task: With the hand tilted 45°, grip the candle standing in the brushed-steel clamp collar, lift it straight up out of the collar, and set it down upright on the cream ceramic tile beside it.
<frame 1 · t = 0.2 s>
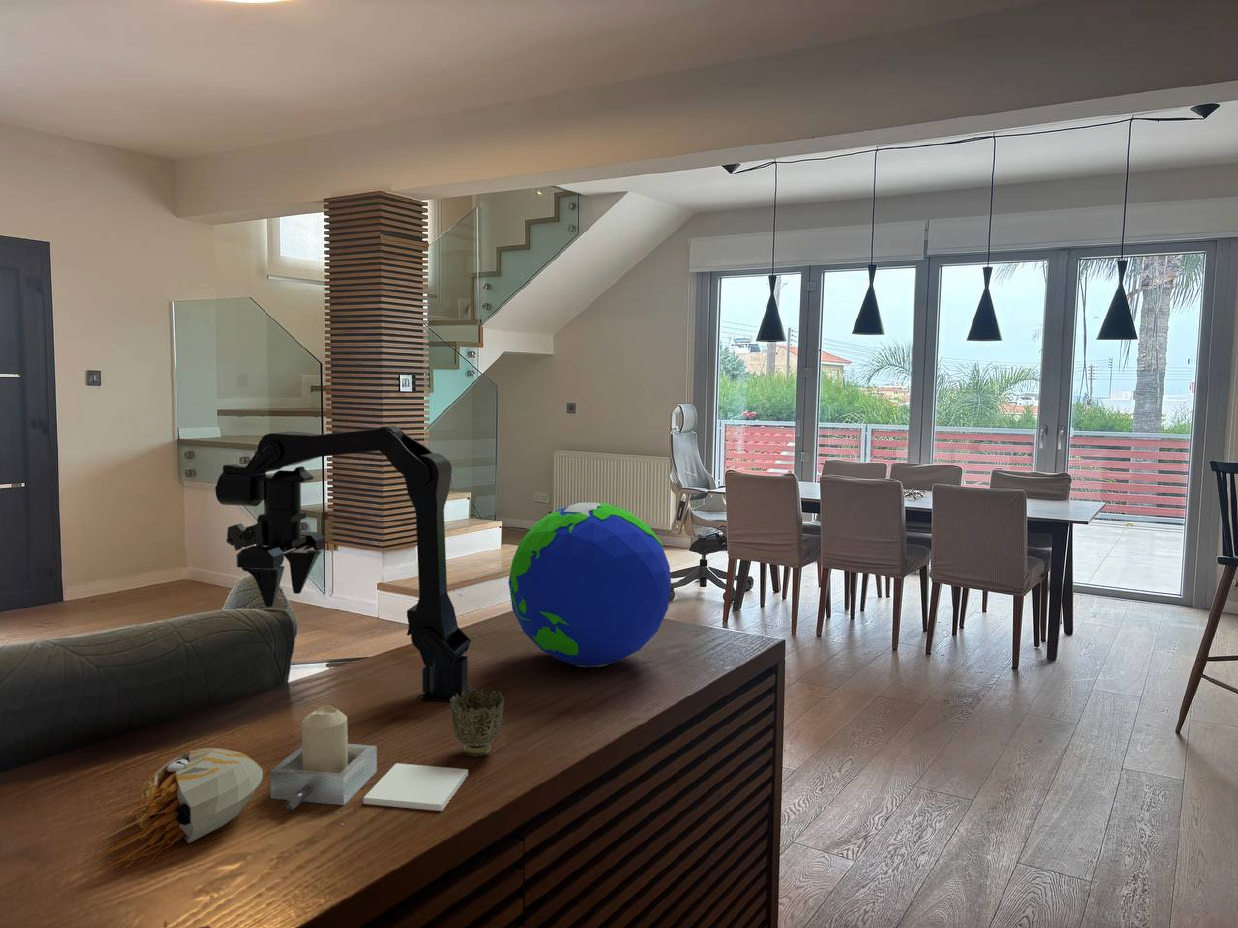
hand: (283, 599, 150), 15 cm above the sideboard, fingers open, 9 cm apart
globe: (589, 664, 165), on the sideboard
clamp collar: (325, 784, 115), on the sideboard
nautilus: (176, 833, 103), on the sideboard
candle: (325, 785, 115), resting in clamp collar
cup: (477, 754, 125), on the sideboard
tile: (417, 788, 114), on the sideboard
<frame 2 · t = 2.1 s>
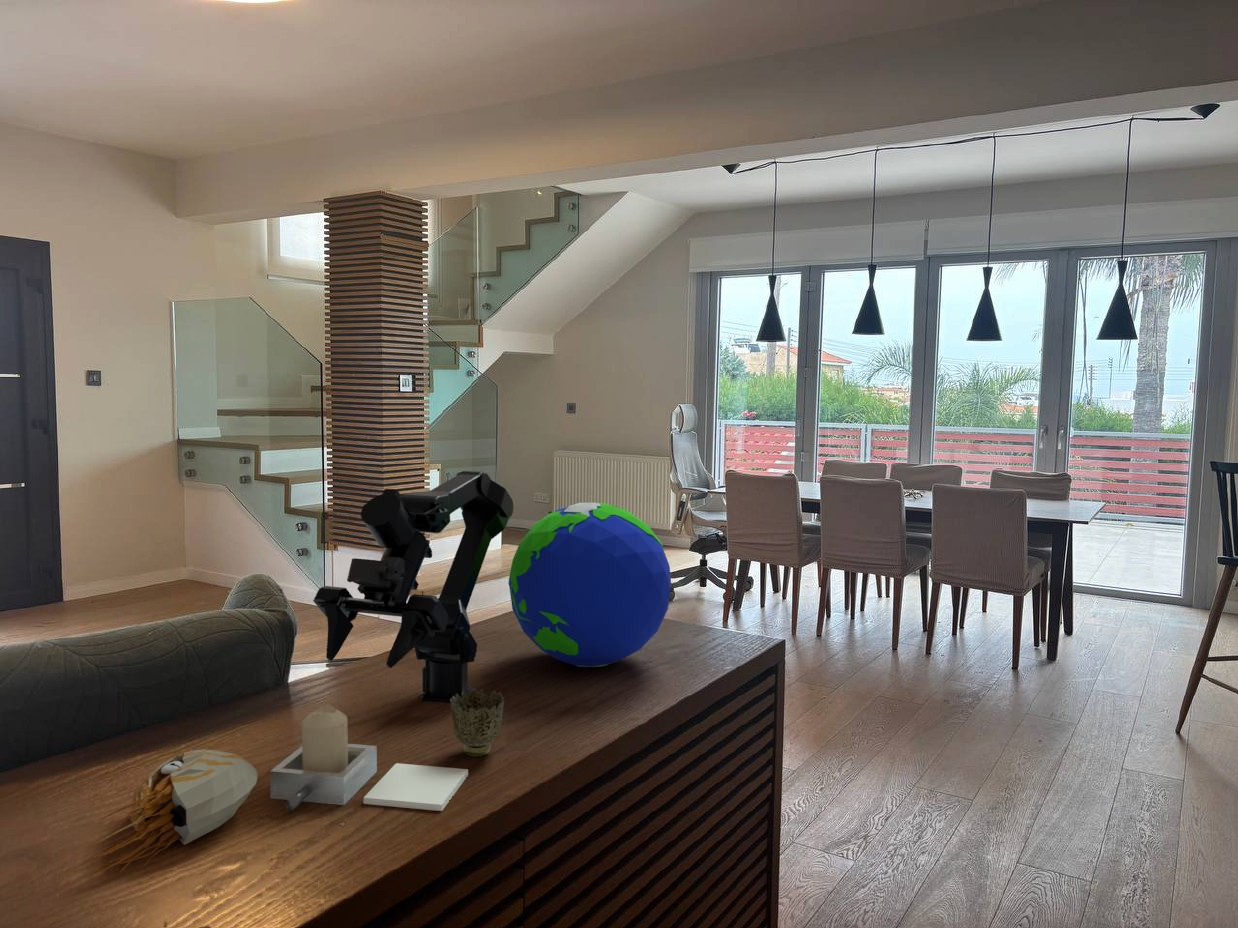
hand: (358, 662, 121), 13 cm above the sideboard, fingers open, 9 cm apart
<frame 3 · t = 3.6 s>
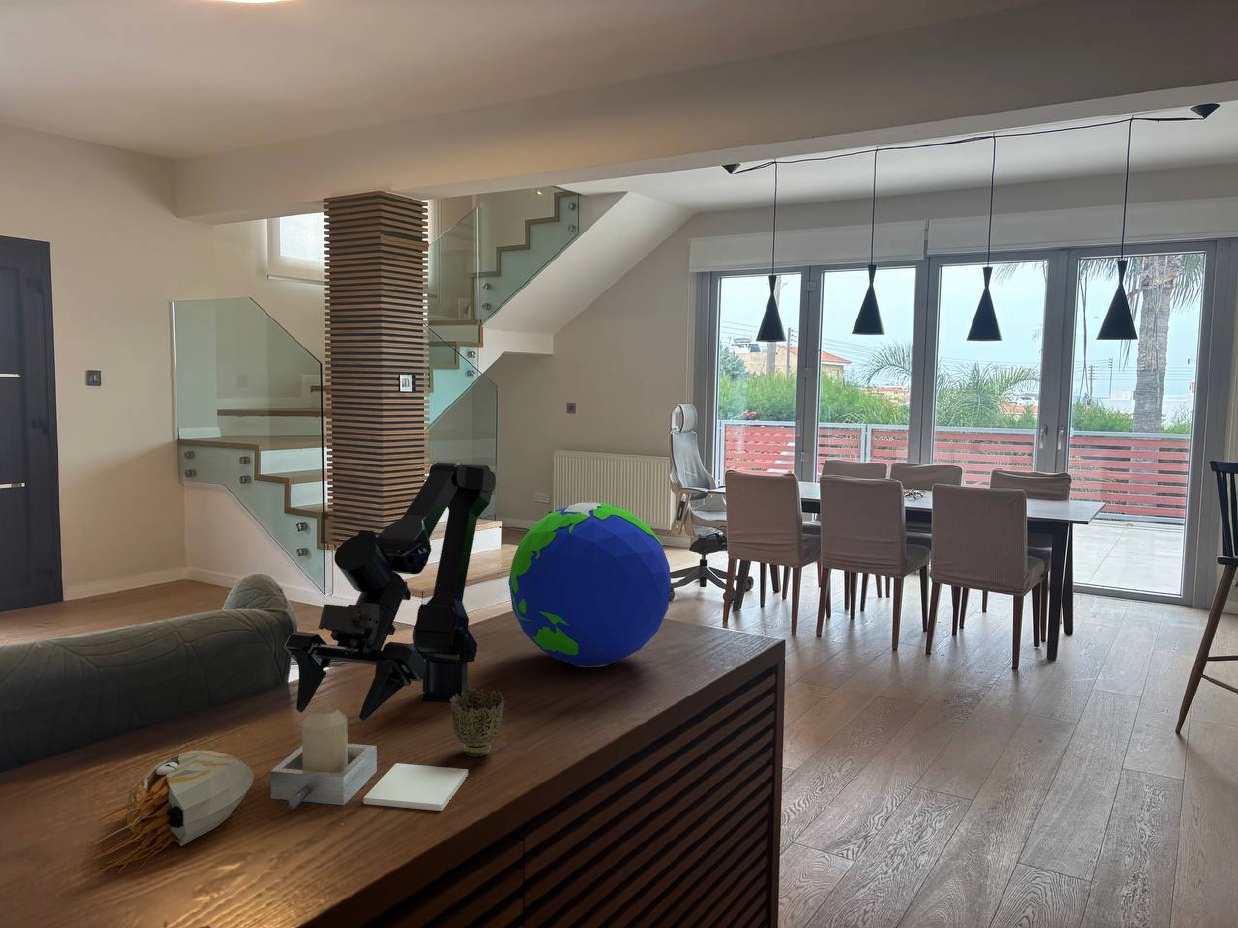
hand: (329, 715, 115), 9 cm above the sideboard, fingers open, 9 cm apart
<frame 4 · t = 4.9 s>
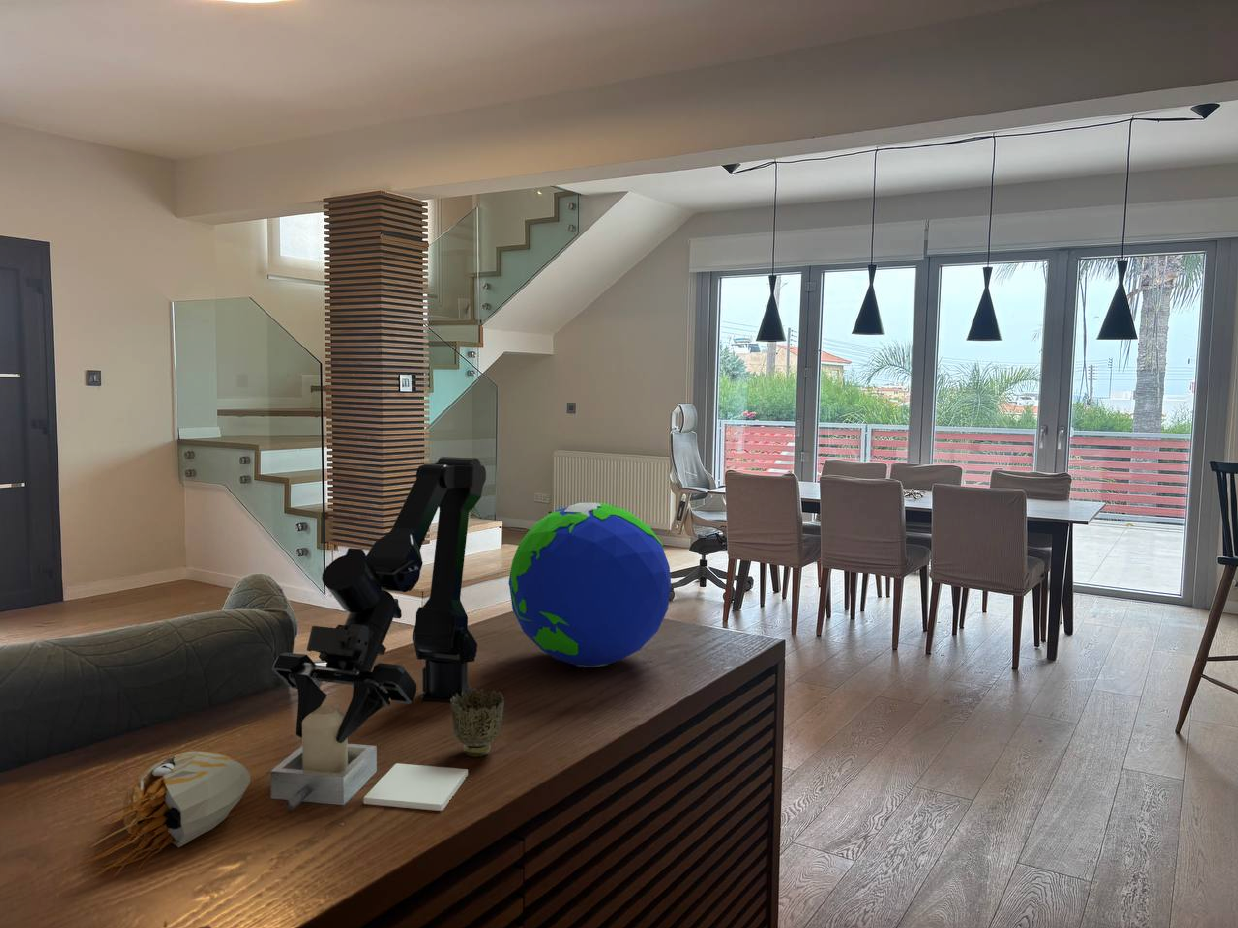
hand: (318, 738, 113), 7 cm above the sideboard, fingers closed on candle, 5 cm apart
candle: (325, 785, 115), resting in clamp collar, touching gripper
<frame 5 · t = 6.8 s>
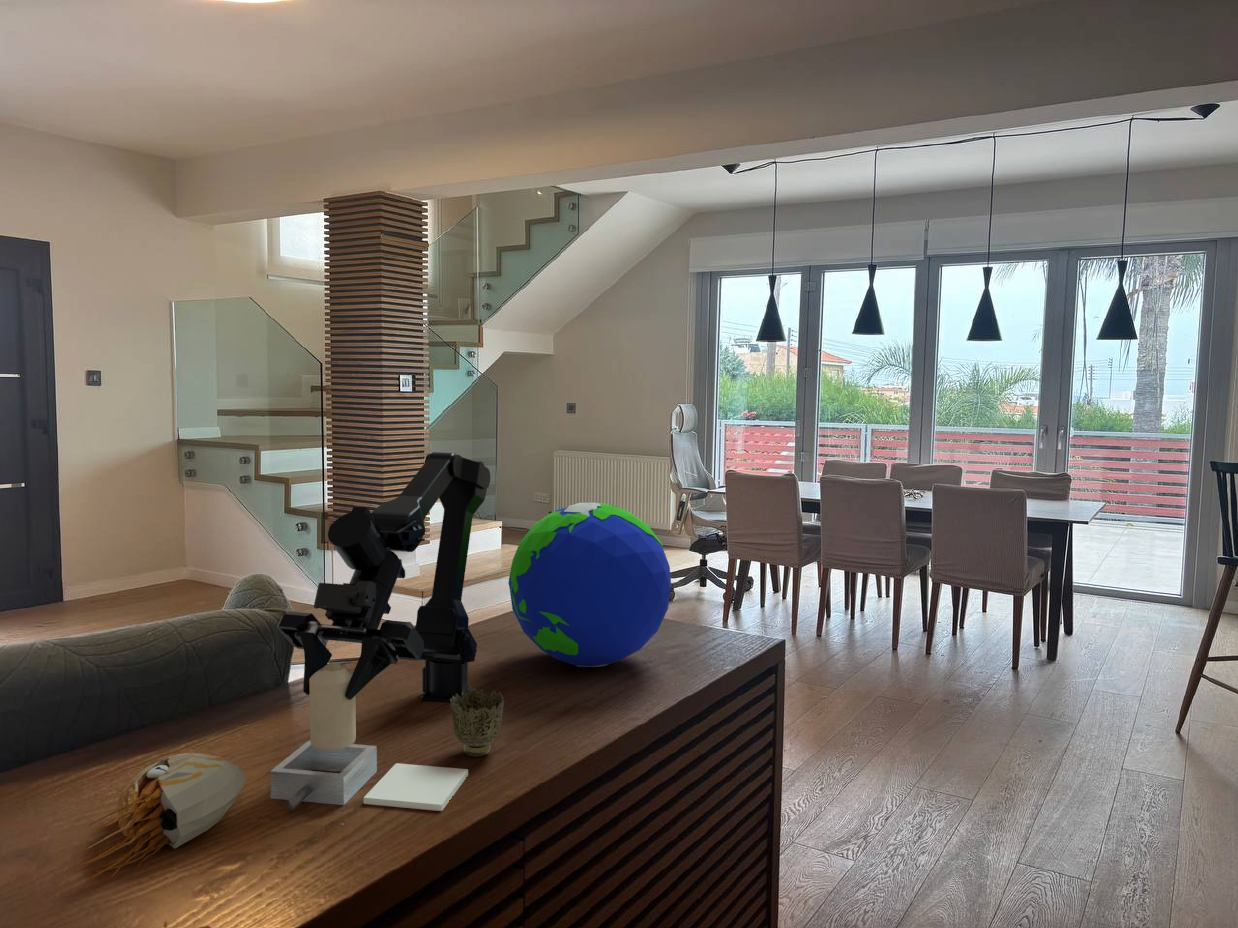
hand: (326, 695, 112), 12 cm above the sideboard, fingers closed on candle, 5 cm apart
candle: (333, 743, 114), point 5 cm above the sideboard, touching gripper
when the fingers open (9 cm above the sideboard, at t = 8.8 s): candle drops 1 cm, resting on tile.
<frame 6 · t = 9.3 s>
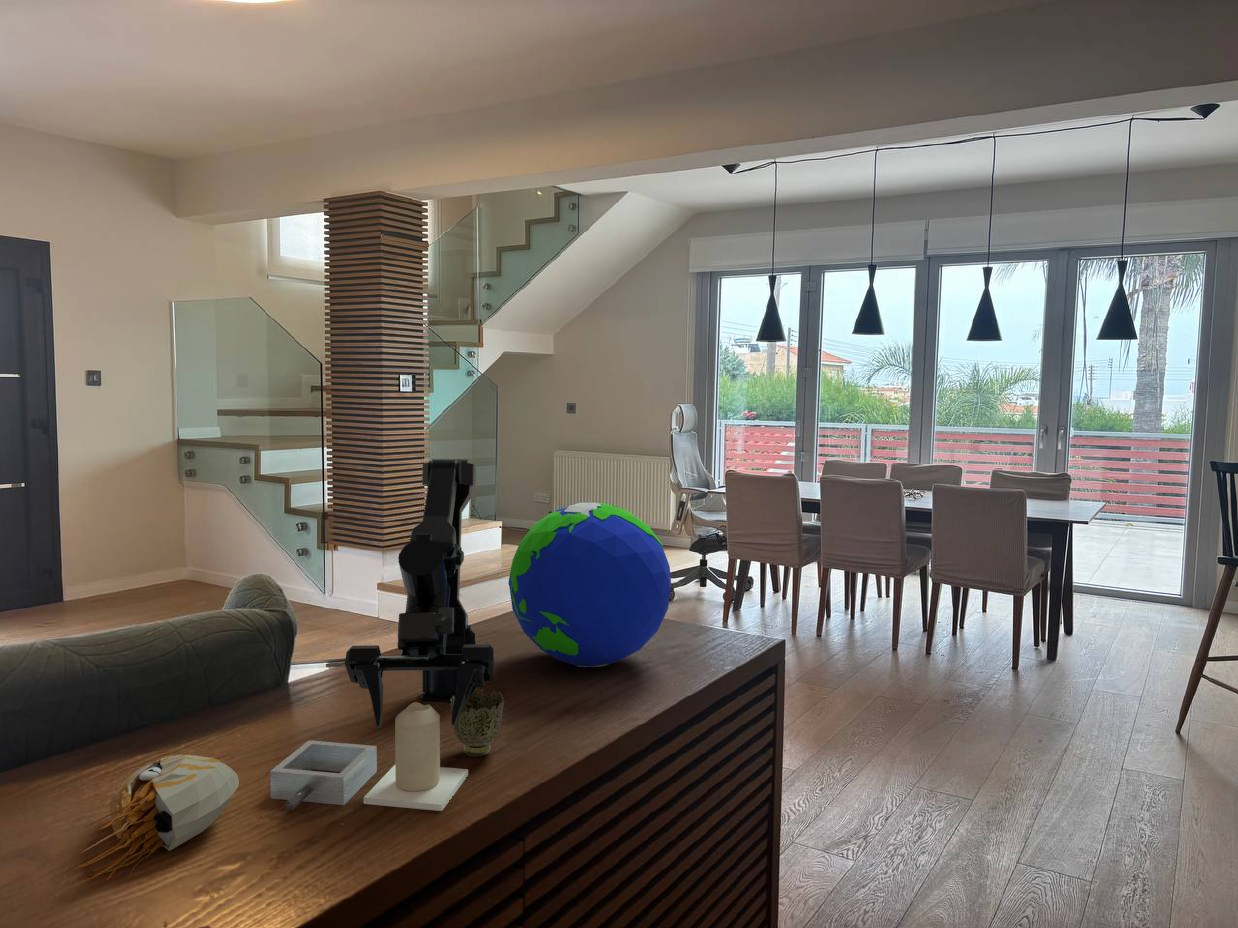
hand: (415, 725, 112), 9 cm above the sideboard, fingers open, 9 cm apart
candle: (417, 783, 114), point 1 cm above the sideboard, touching tile
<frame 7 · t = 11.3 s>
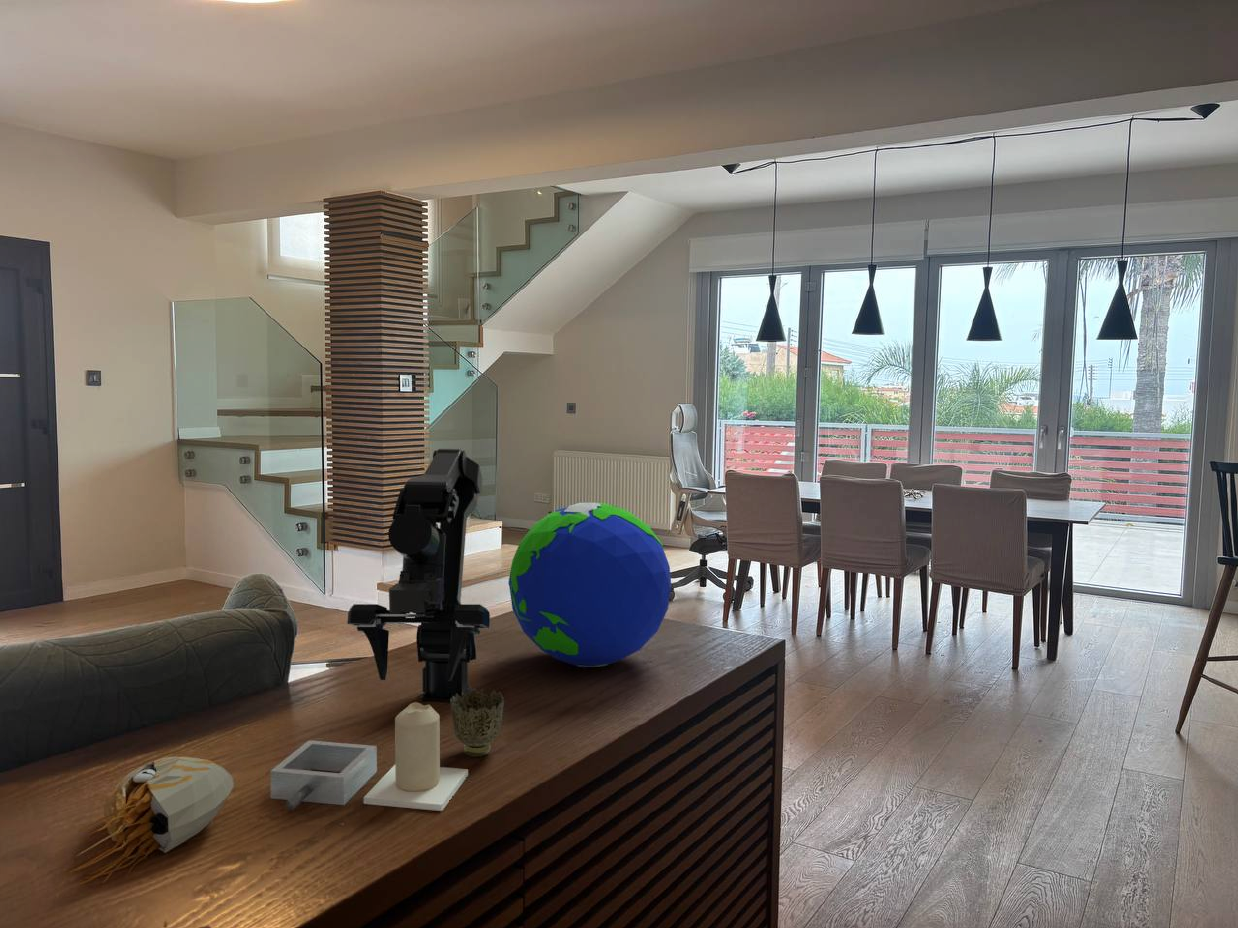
hand: (415, 680, 123), 11 cm above the sideboard, fingers open, 9 cm apart
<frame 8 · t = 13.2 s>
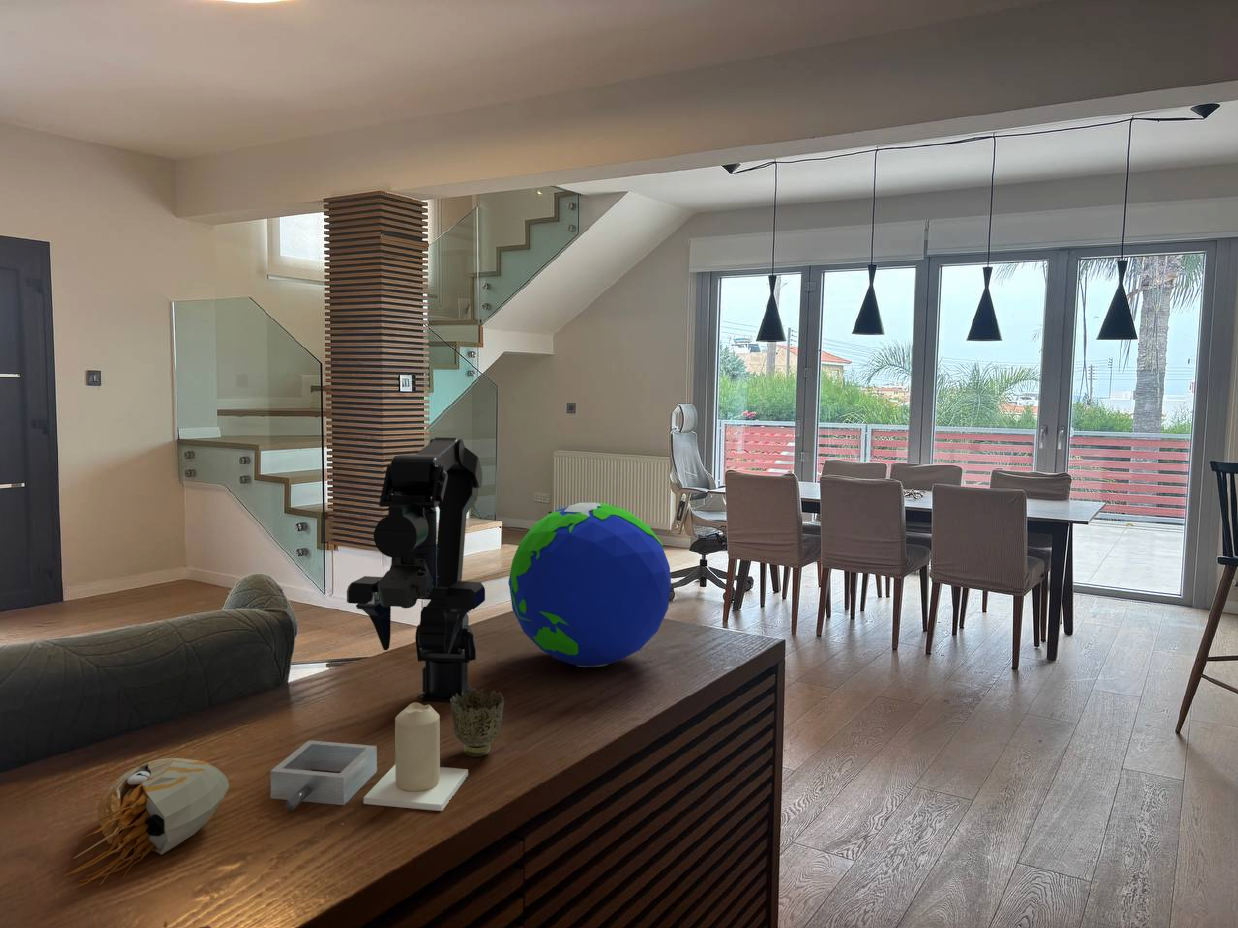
hand: (416, 651, 128), 13 cm above the sideboard, fingers open, 9 cm apart
at the end: candle 0.2 cm from the tile (horizontally); candle tilted 0°; the gripper is holding nothing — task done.
